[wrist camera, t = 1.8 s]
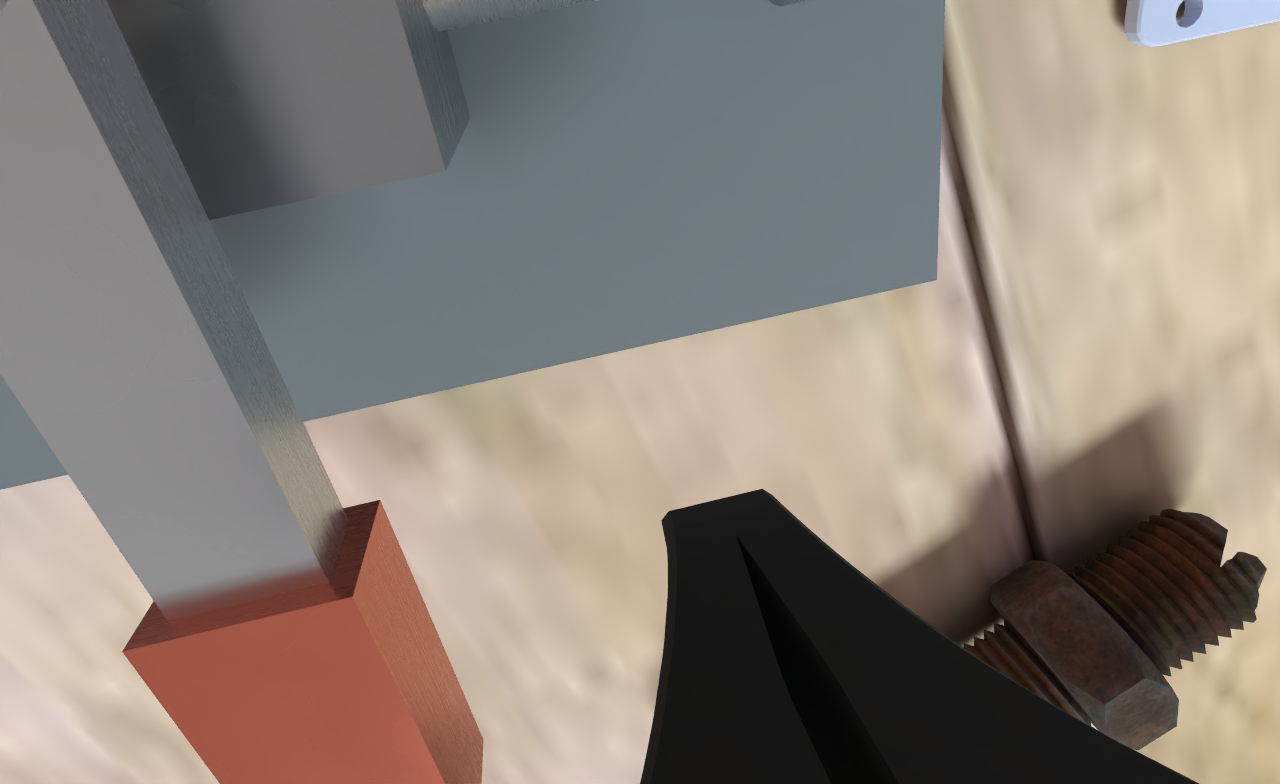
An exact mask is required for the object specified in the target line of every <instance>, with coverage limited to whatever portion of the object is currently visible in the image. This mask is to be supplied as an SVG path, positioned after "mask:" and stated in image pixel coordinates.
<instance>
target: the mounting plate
mask: <svg viewBox="0 0 1280 784" xmlns="http://www.w3.org/2000/svg"><path fill="white" fill-rule="evenodd" d="M944 12H945V0H811V1H806V2H801V3H796V4H791V5H786V6H777V5H774V4H773V3H771V2H769V1H768V0H598V1H593V2H588V3H583V4H577V5H572V6H567V7H562V8H557V9H552V10H547V11H542V12H537V13H531V14H526V15H521V16H516V17H511V18H506V19H501V20H496V21H491V22H485V23H480V24H475V25H470V26H465V27H460V28H455V29H450V30H447V33H448V37H449V40H450V44H451V48H452V51H453V55H454V59H455V62H456V66H457V70H458V74H459V77H460V81H461V85H462V88H463V92H464V96H465V100H466V103H467V107H468V111H469V114H470V120H469V122H468V124H467V126H466V129H465V131H464V133H463V135H462V137H461V139H460V142H459V144H458V146H457V148H456V150H455V152H454V155H453V157H452V159H451V161H450V163H449V165H448V168H447V170H446V171H444V172H439V173H434V174H430V175H425V176H420V177H415V178H410V179H405V180H401V181H396V182H391V183H386V184H381V185H376V186H372V187H367V188H362V189H357V190H352V191H347V192H343V193H338V194H333V195H328V196H323V197H318V198H314V199H309V200H304V201H299V202H294V203H289V204H285V205H280V206H275V207H270V208H265V209H260V210H255V211H251V212H246V213H241V214H236V215H231V216H226V217H222V218H217V219H212V220H209V222H210V224H211V226H212V228H213V230H214V232H215V234H216V237H217V239H218V241H219V243H220V245H221V247H222V249H223V252H224V254H225V256H226V258H227V260H228V262H229V265H230V267H231V269H232V271H233V273H234V275H235V277H236V280H237V282H238V284H239V286H240V288H241V290H242V292H243V295H244V297H245V299H246V301H247V303H248V305H249V308H250V310H251V312H252V314H253V316H254V318H255V320H256V323H257V325H258V327H259V329H260V331H261V333H262V335H263V338H264V340H265V342H266V344H267V346H268V348H269V351H270V353H271V355H272V357H273V359H274V361H275V363H276V366H277V368H278V370H279V372H280V374H281V376H282V378H283V381H284V383H285V385H286V387H287V389H288V391H289V393H290V396H291V398H292V400H293V402H294V404H295V406H296V409H297V411H298V413H299V415H300V417H301V419H302V421H303V422H304V421H309V420H313V419H318V418H322V417H327V416H331V415H335V414H340V413H344V412H349V411H353V410H358V409H362V408H367V407H371V406H376V405H380V404H385V403H389V402H394V401H398V400H402V399H407V398H411V397H416V396H420V395H425V394H429V393H434V392H438V391H443V390H447V389H452V388H456V387H460V386H465V385H469V384H474V383H478V382H483V381H487V380H492V379H496V378H501V377H505V376H510V375H514V374H519V373H523V372H527V371H532V370H536V369H541V368H545V367H550V366H554V365H559V364H563V363H568V362H572V361H577V360H581V359H586V358H590V357H594V356H599V355H603V354H608V353H612V352H617V351H621V350H626V349H630V348H635V347H639V346H644V345H648V344H653V343H657V342H661V341H666V340H670V339H675V338H679V337H684V336H688V335H693V334H697V333H702V332H706V331H711V330H715V329H719V328H724V327H728V326H733V325H737V324H742V323H746V322H751V321H755V320H760V319H764V318H769V317H773V316H778V315H782V314H786V313H791V312H795V311H800V310H804V309H809V308H813V307H818V306H822V305H827V304H831V303H836V302H840V301H845V300H849V299H853V298H858V297H862V296H867V295H871V294H876V293H880V292H885V291H889V290H894V289H898V288H903V287H907V286H911V285H916V284H920V283H925V282H929V281H934V280H937V254H938V220H939V185H940V150H941V116H942V81H943V47H944ZM63 475H68V473H67V472H66V470H65V469H64V467H63V466H62V464H61V463H60V461H59V460H58V458H57V457H56V455H55V454H54V452H53V451H52V449H51V448H50V446H49V445H48V444H47V442H46V441H45V439H44V438H43V436H42V435H41V433H40V432H39V430H38V429H37V427H36V426H35V424H34V423H33V421H32V420H31V418H30V417H29V415H28V414H27V413H26V411H25V410H24V408H23V407H22V405H21V404H20V402H19V401H18V399H17V398H16V396H15V395H14V393H13V392H12V390H11V389H10V387H9V386H8V384H7V383H6V381H5V380H4V379H3V377H2V376H1V374H0V490H1V489H5V488H10V487H14V486H18V485H23V484H27V483H32V482H36V481H41V480H45V479H50V478H54V477H59V476H63Z"/></svg>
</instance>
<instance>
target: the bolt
mask: <svg viewBox="0 0 1280 784" xmlns="http://www.w3.org/2000/svg"><path fill="white" fill-rule="evenodd" d="M1227 532H1228V530H1227V529H1225V528H1224V527H1223V526H1221V525H1220V524H1218V523H1217V522H1215V521H1214V520H1212V519H1211V518H1210V517H1207V516H1205V515H1202V514H1198V513H1189V512H1181V511H1177V510H1173V509H1165V510H1163V511H1161V514H1160V516H1156V515H1154V516H1150V517H1149V520H1148V522H1141V523H1140V524H1138V530H1135V529H1132V530H1130V531H1128V538H1127V537H1119V539H1118V546H1117V545H1111V544H1108V548H1107V553H1105V552H1101V551H1100V552H1098V553H1096V560H1091V559H1087V563H1086V568H1084V567H1081V566H1078V567H1076V575H1071V574H1067V573H1065V572H1064V571H1062V570H1061V569H1060V568H1058V567H1057V566H1055V565H1054V564H1053V563H1050V562H1048V561H1038V560H1030V561H1028V562H1027V563H1025V564H1024V565H1022V566H1021V567H1019V568H1018V569H1016V570H1015V571H1013V572H1012V573H1010V574H1009V575H1008V576H1006V577H1005V578H1003V579H1002V580H1000V581H999V582H997V583H996V584H994V585H993V586H992V591H991V603H992V605H993V606H994V607H995V609H996V610H997V611H998V613H999V614H1000V615H1001V617H1002V618H1003V619H1004V626H1003V625H1000V624H997V623H994V633H993V632H990V631H987V630H984V639H980V638H977V637H974V646H971V645H968V644H965V643H964V649H966V650H967V651H969V652H970V653H972V654H973V655H975V656H976V657H978V658H979V659H981V660H982V661H984V662H985V663H987V664H988V665H990V666H992V667H993V668H995V669H996V670H998V671H999V672H1001V673H1002V674H1004V675H1006V676H1007V677H1009V678H1010V679H1012V680H1014V681H1015V682H1017V683H1018V684H1020V685H1022V686H1023V687H1025V688H1027V689H1028V690H1030V691H1032V692H1033V693H1035V694H1037V695H1038V696H1040V697H1041V698H1043V699H1045V700H1046V701H1048V702H1050V703H1051V704H1053V705H1055V706H1056V707H1058V708H1060V709H1061V710H1063V711H1065V712H1067V713H1068V714H1070V715H1072V716H1074V717H1075V718H1077V719H1079V720H1081V721H1082V722H1084V723H1086V724H1088V725H1089V726H1091V723H1092V724H1093V725H1094V726H1095V727H1096V728H1097V729H1098V730H1099V731H1100V732H1102V733H1103V734H1105V735H1107V736H1109V737H1111V738H1112V739H1114V740H1116V741H1118V742H1119V743H1121V744H1123V745H1125V746H1127V747H1129V748H1131V749H1135V750H1140V749H1141V748H1143V747H1144V746H1146V745H1147V744H1149V743H1151V742H1152V741H1154V740H1155V739H1157V738H1159V737H1160V736H1162V735H1163V734H1165V733H1167V732H1168V731H1170V730H1171V729H1173V728H1174V727H1176V726H1177V716H1178V703H1179V700H1178V698H1177V696H1176V694H1175V692H1174V691H1173V689H1172V687H1171V686H1170V685H1169V683H1168V682H1167V681H1166V679H1165V678H1164V676H1163V675H1167V676H1171V672H1170V667H1175V668H1179V669H1182V666H1181V661H1180V659H1183V660H1188V661H1192V662H1194V661H1193V654H1192V652H1198V653H1204V654H1206V650H1205V644H1211V645H1217V646H1219V642H1218V637H1217V636H1223V637H1230V638H1232V637H1231V630H1230V628H1231V629H1240V630H1244V628H1243V621H1246V622H1254V621H1255V620H1257V619H1256V615H1255V609H1256V607H1257V604H1258V598H1259V592H1258V589H1259V587H1260V584H1261V582H1262V580H1263V577H1264V575H1265V572H1266V570H1267V568H1266V567H1265V566H1264V565H1263V563H1262V562H1261V561H1260V560H1259V559H1258V557H1256V556H1253V555H1250V554H1248V553H1245V552H1237V554H1236V555H1235V556H1234V557H1233V558H1232V559H1230V560H1227V561H1226V562H1225V563H1224V565H1223V566H1222V567H1220V565H1221V560H1222V555H1223V550H1224V547H1225V543H1226V537H1227ZM1169 666H1170V667H1169ZM1162 674H1163V675H1162Z"/></svg>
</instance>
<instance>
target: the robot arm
mask: <svg viewBox="0 0 1280 784" xmlns="http://www.w3.org/2000/svg"><path fill="white" fill-rule="evenodd" d="M1184 1H1185V11H1184V14H1183V16H1182V18H1181V19H1180V20H1179V22H1178V23H1177V22H1176V12H1177V10H1178V7H1179V5H1180V4H1181V3H1182V2H1183V0H1127V7H1126V14H1125V21H1124V24H1125V34H1126V36H1127V38H1128V40H1129V42H1131V43H1132V44H1134V45H1136V46H1162V45H1166V44H1171V43H1176V42H1181V41H1186V40H1190V39H1195V38H1200V37H1205V36H1210V35H1214V34H1219V33H1224V32H1229V31H1234V30H1238V29H1243V28H1248V27H1253V26H1257V25H1262V24H1267V23H1272V22H1277V21H1280V0H1184ZM662 526H663V531H664V536H665V541H666V546H667V555H668V599H667V612H666V626H665V640H664V649H663V658H662V664H661V671H660V678H659V685H658V691H657V698H656V705H655V712H654V718H653V723H652V729H651V734H650V739H649V744H648V750H647V754H646V759H645V764H644V769H643V773H642V778H641V782H640V784H1199V783H1197V782H1195V781H1193V780H1191V779H1189V778H1187V777H1185V776H1183V775H1181V774H1179V773H1178V772H1176V771H1174V770H1172V769H1170V768H1168V767H1166V766H1164V765H1162V764H1160V763H1158V762H1156V761H1154V760H1152V759H1150V758H1148V757H1146V756H1144V755H1143V754H1141V753H1139V752H1137V751H1135V750H1133V749H1131V748H1129V747H1127V746H1125V745H1123V744H1121V743H1119V742H1118V741H1116V740H1114V739H1112V738H1111V737H1109V736H1107V735H1105V734H1103V733H1102V732H1100V731H1098V730H1096V729H1095V728H1093V727H1091V726H1089V725H1088V724H1086V723H1084V722H1082V721H1081V720H1079V719H1077V718H1075V717H1074V716H1072V715H1070V714H1068V713H1067V712H1065V711H1063V710H1061V709H1060V708H1058V707H1056V706H1055V705H1053V704H1051V703H1050V702H1048V701H1046V700H1045V699H1043V698H1041V697H1040V696H1038V695H1037V694H1035V693H1033V692H1032V691H1030V690H1028V689H1027V688H1025V687H1023V686H1022V685H1020V684H1018V683H1017V682H1015V681H1014V680H1012V679H1010V678H1009V677H1007V676H1006V675H1004V674H1002V673H1001V672H999V671H998V670H996V669H995V668H993V667H992V666H990V665H988V664H987V663H985V662H984V661H982V660H981V659H979V658H978V657H976V656H975V655H973V654H972V653H970V652H969V651H967V650H966V649H964V648H963V647H961V646H960V645H958V644H957V643H956V642H954V641H953V640H951V639H950V638H948V637H947V636H946V635H944V634H943V633H941V632H940V631H938V630H937V629H936V628H934V627H933V626H931V625H930V624H928V623H927V622H926V621H924V620H923V619H921V618H920V617H919V616H917V615H916V614H915V613H913V612H912V611H911V610H909V609H908V608H906V607H905V606H904V605H902V604H901V603H900V602H898V601H897V600H896V599H894V598H893V597H892V596H890V595H889V594H888V593H887V592H885V591H884V590H883V589H882V588H880V587H879V586H878V585H876V584H875V583H874V582H873V581H871V580H870V579H869V578H867V577H866V576H865V575H864V574H862V573H861V572H860V571H859V570H857V569H856V568H855V567H853V566H852V565H851V564H850V563H849V562H847V561H846V560H845V559H844V558H842V557H841V556H840V555H839V554H838V553H836V552H835V551H834V550H833V549H832V548H830V547H829V546H828V545H827V544H826V543H825V542H823V541H822V540H821V539H820V538H819V537H818V536H816V535H815V534H814V533H813V532H812V531H811V530H810V529H808V528H807V527H806V526H805V525H804V524H803V523H802V522H801V521H799V520H798V519H797V518H796V517H795V516H794V515H793V514H792V513H791V512H790V511H789V510H787V509H786V508H785V507H784V506H783V505H782V504H781V503H780V502H779V501H778V500H777V499H776V498H775V497H774V496H773V495H771V494H770V493H768V492H767V491H765V490H763V489H760V490H756V491H751V492H747V493H743V494H739V495H735V496H731V497H726V498H722V499H718V500H714V501H710V502H706V503H701V504H697V505H693V506H689V507H685V508H681V509H676V510H672V511H669V512H668V513H667V514H666V516H665V517H664V518H663V519H662Z"/></svg>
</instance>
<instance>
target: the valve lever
mask: <svg viewBox="0 0 1280 784" xmlns="http://www.w3.org/2000/svg"><path fill="white" fill-rule="evenodd" d="M0 374H1V376H2V377H3V379H4V380H5V381H6V383H7V384H8V386H9V387H10V389H11V390H12V392H13V393H14V395H15V396H16V398H17V399H18V401H19V402H20V404H21V405H22V407H23V408H24V410H25V411H26V413H27V414H28V415H29V417H30V418H31V420H32V421H33V423H34V424H35V426H36V427H37V429H38V430H39V432H40V433H41V435H42V436H43V438H44V439H45V441H46V442H47V444H48V445H49V446H50V448H51V449H52V451H53V452H54V454H55V455H56V457H57V458H58V460H59V461H60V463H61V464H62V466H63V467H64V469H65V470H66V472H67V473H68V475H69V476H70V478H71V479H72V480H73V482H74V483H75V485H76V486H77V488H78V489H79V491H80V492H81V494H82V495H83V497H84V498H85V500H86V501H87V503H88V504H89V506H90V507H91V509H92V510H93V511H94V513H95V514H96V516H97V517H98V519H99V520H100V522H101V523H102V525H103V526H104V528H105V529H106V531H107V532H108V534H109V535H110V537H111V538H112V540H113V541H114V543H115V544H116V545H117V547H118V548H119V550H120V551H121V553H122V554H123V556H124V557H125V559H126V560H127V562H128V563H129V565H130V566H131V568H132V569H133V571H134V572H135V574H136V575H137V576H138V578H139V579H140V581H141V582H142V584H143V585H144V587H145V588H146V590H147V591H148V593H149V594H150V596H151V597H152V599H153V600H154V602H153V603H152V605H151V606H150V608H149V610H148V611H147V613H146V614H145V616H144V618H143V619H142V621H141V622H140V624H139V626H138V627H137V629H136V630H135V632H134V634H133V635H132V637H131V639H130V640H129V642H128V643H127V645H126V647H125V648H124V650H123V651H122V652H123V653H124V655H125V656H126V657H127V659H128V660H129V661H130V663H131V664H132V665H133V667H134V668H135V669H136V671H137V672H138V674H139V675H140V676H141V678H142V679H143V680H144V682H145V683H146V684H147V686H148V687H149V688H150V690H151V691H152V692H153V694H154V695H155V697H156V698H157V699H158V701H159V702H160V703H161V705H162V706H163V707H164V709H165V710H166V711H167V713H168V714H169V715H170V717H171V718H172V719H173V721H174V722H175V724H176V725H177V726H178V728H179V729H180V730H181V732H182V733H183V734H184V736H185V737H186V738H187V740H188V741H189V742H190V744H191V745H192V747H193V748H194V749H195V751H196V752H197V753H198V755H199V756H200V757H201V759H202V760H203V761H204V763H205V764H206V765H207V767H208V768H209V769H210V771H211V772H212V774H213V775H214V776H215V778H216V779H217V780H218V782H219V783H220V784H481V781H482V758H483V738H482V735H481V733H480V731H479V728H478V726H477V724H476V721H475V719H474V717H473V714H472V712H471V710H470V708H469V705H468V703H467V701H466V698H465V696H464V694H463V691H462V689H461V687H460V684H459V682H458V680H457V677H456V675H455V673H454V670H453V668H452V666H451V663H450V661H449V659H448V656H447V654H446V652H445V650H444V647H443V645H442V643H441V640H440V638H439V636H438V633H437V631H436V629H435V626H434V624H433V622H432V619H431V617H430V615H429V612H428V610H427V608H426V605H425V603H424V601H423V598H422V596H421V594H420V592H419V589H418V587H417V585H416V582H415V580H414V578H413V575H412V573H411V571H410V568H409V566H408V564H407V561H406V559H405V557H404V554H403V552H402V550H401V547H400V545H399V543H398V540H397V538H396V536H395V533H394V531H393V529H392V527H391V524H390V522H389V520H388V517H387V515H386V513H385V510H384V508H383V506H382V503H381V501H380V500H378V501H373V502H369V503H365V504H360V505H356V506H352V507H347V508H343V507H342V505H341V503H340V501H339V499H338V497H337V495H336V492H335V490H334V488H333V486H332V484H331V482H330V479H329V477H328V475H327V473H326V471H325V469H324V467H323V464H322V462H321V460H320V458H319V456H318V454H317V452H316V449H315V447H314V445H313V443H312V441H311V439H310V436H309V434H308V432H307V430H306V428H305V426H304V424H303V421H302V419H301V417H300V415H299V413H298V411H297V409H296V406H295V404H294V402H293V400H292V398H291V396H290V393H289V391H288V389H287V387H286V385H285V383H284V381H283V378H282V376H281V374H280V372H279V370H278V368H277V366H276V363H275V361H274V359H273V357H272V355H271V353H270V351H269V348H268V346H267V344H266V342H265V340H264V338H263V335H262V333H261V331H260V329H259V327H258V325H257V323H256V320H255V318H254V316H253V314H252V312H251V310H250V308H249V305H248V303H247V301H246V299H245V297H244V295H243V292H242V290H241V288H240V286H239V284H238V282H237V280H236V277H235V275H234V273H233V271H232V269H231V267H230V265H229V262H228V260H227V258H226V256H225V254H224V252H223V249H222V247H221V245H220V243H219V241H218V239H217V237H216V234H215V232H214V230H213V228H212V226H211V224H210V222H209V219H208V217H207V215H206V213H205V211H204V209H203V206H202V204H201V202H200V200H199V198H198V196H197V194H196V191H195V189H194V187H193V185H192V183H191V181H190V179H189V176H188V174H187V172H186V170H185V168H184V166H183V163H182V161H181V159H180V157H179V155H178V153H177V151H176V148H175V146H174V144H173V142H172V140H171V138H170V136H169V133H168V131H167V129H166V127H165V125H164V123H163V120H162V118H161V116H160V114H159V112H158V110H157V108H156V105H155V103H154V101H153V99H152V97H151V95H150V93H149V90H148V88H147V86H146V84H145V82H144V80H143V78H142V75H141V73H140V71H139V69H138V67H137V65H136V62H135V60H134V58H133V56H132V54H131V52H130V50H129V47H128V45H127V43H126V41H125V39H124V37H123V35H122V32H121V30H120V28H119V26H118V24H117V22H116V19H115V17H114V15H113V13H112V11H111V9H110V7H109V4H108V2H107V0H0Z"/></svg>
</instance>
